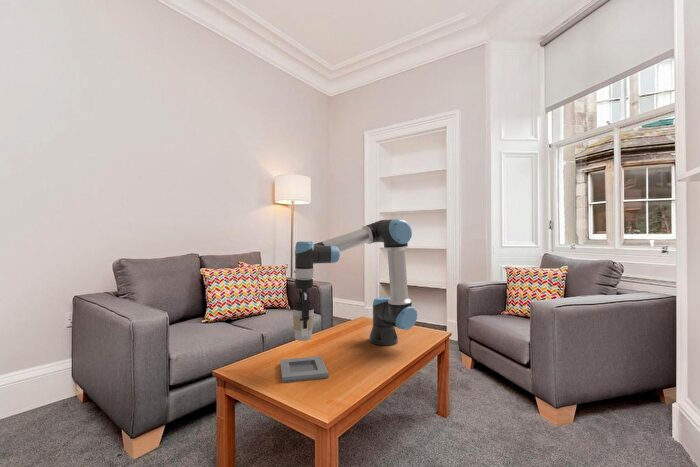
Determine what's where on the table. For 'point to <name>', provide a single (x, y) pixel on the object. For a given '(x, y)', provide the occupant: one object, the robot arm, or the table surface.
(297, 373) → the frame
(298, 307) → the coffee cup
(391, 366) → the table surface
